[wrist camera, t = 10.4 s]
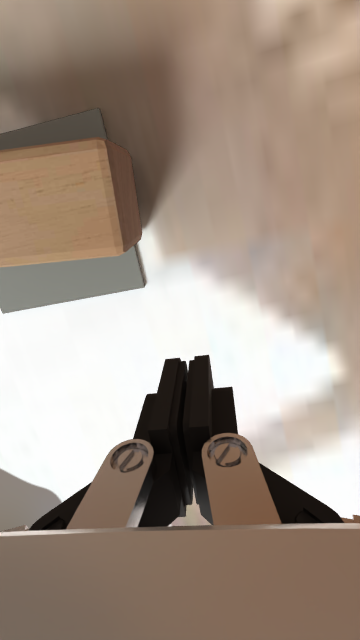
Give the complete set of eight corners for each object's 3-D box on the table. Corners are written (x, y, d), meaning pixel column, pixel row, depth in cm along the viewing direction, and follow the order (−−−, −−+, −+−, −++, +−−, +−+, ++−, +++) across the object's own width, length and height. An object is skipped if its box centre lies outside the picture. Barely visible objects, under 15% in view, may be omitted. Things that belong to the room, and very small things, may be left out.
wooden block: (131, 147, 35) (-39, 170, 37) (106, 133, 26) (-118, 164, 28) (144, 240, 39) (-10, 256, 41) (127, 256, 30) (-72, 276, 32)
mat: (99, 109, 34) (98, 108, 34) (144, 286, 42) (144, 287, 41) (-64, 152, 37) (-68, 152, 36) (5, 312, 44) (2, 313, 44)
